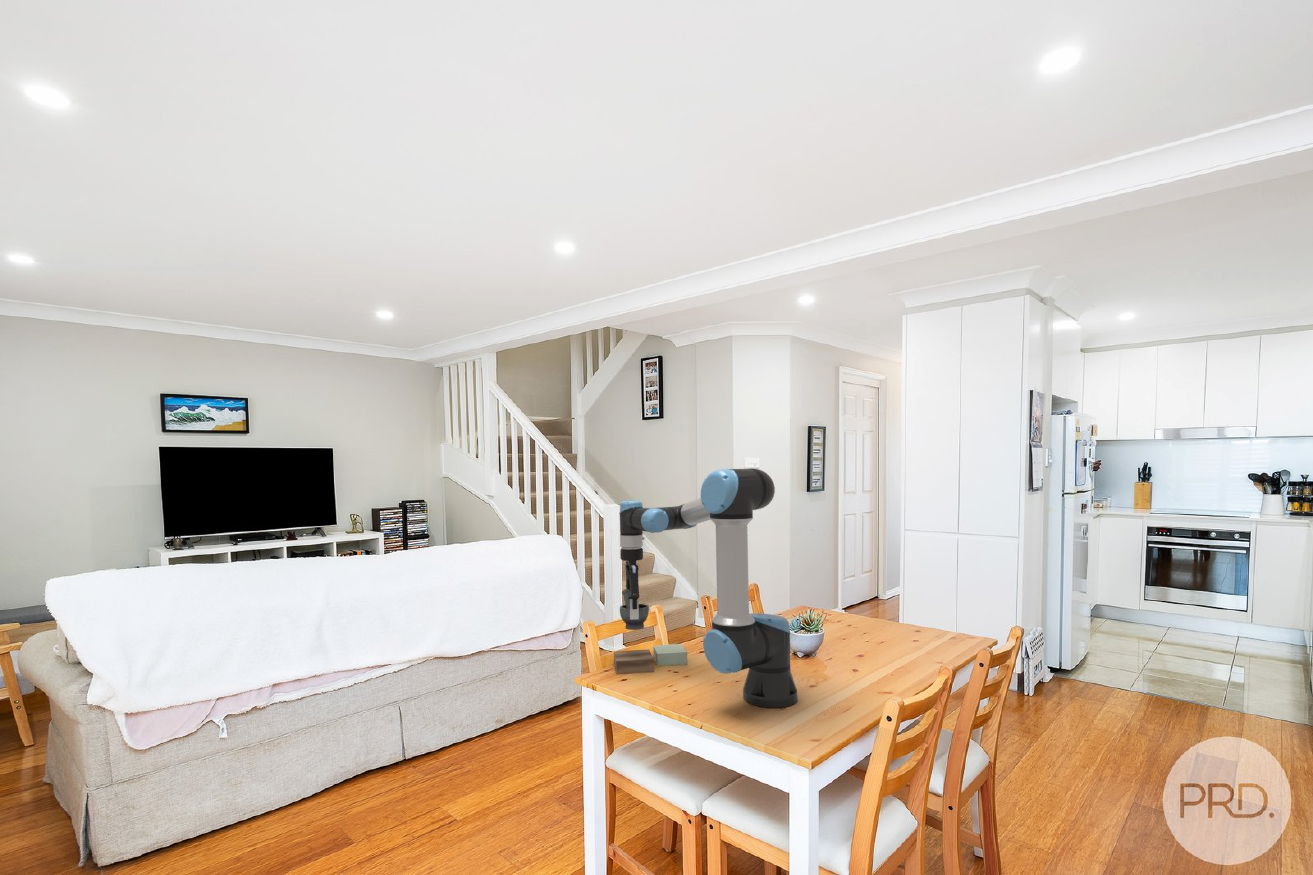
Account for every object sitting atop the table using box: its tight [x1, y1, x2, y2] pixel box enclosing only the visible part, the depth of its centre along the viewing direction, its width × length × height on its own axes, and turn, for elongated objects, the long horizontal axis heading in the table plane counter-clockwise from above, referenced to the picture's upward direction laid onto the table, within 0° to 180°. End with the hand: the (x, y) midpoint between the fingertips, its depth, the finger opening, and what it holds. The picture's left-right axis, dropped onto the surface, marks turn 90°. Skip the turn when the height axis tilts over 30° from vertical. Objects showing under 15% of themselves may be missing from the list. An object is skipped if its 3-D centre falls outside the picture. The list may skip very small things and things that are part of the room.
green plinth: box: [652, 643, 688, 667], centre depth 218 cm, size 10×10×4 cm
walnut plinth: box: [613, 649, 655, 675], centre depth 211 cm, size 11×12×4 cm
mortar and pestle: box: [619, 588, 650, 631], centre depth 212 cm, size 11×9×12 cm
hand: (632, 615), depth 211 cm, fingers closed on mortar and pestle, 11 cm apart
